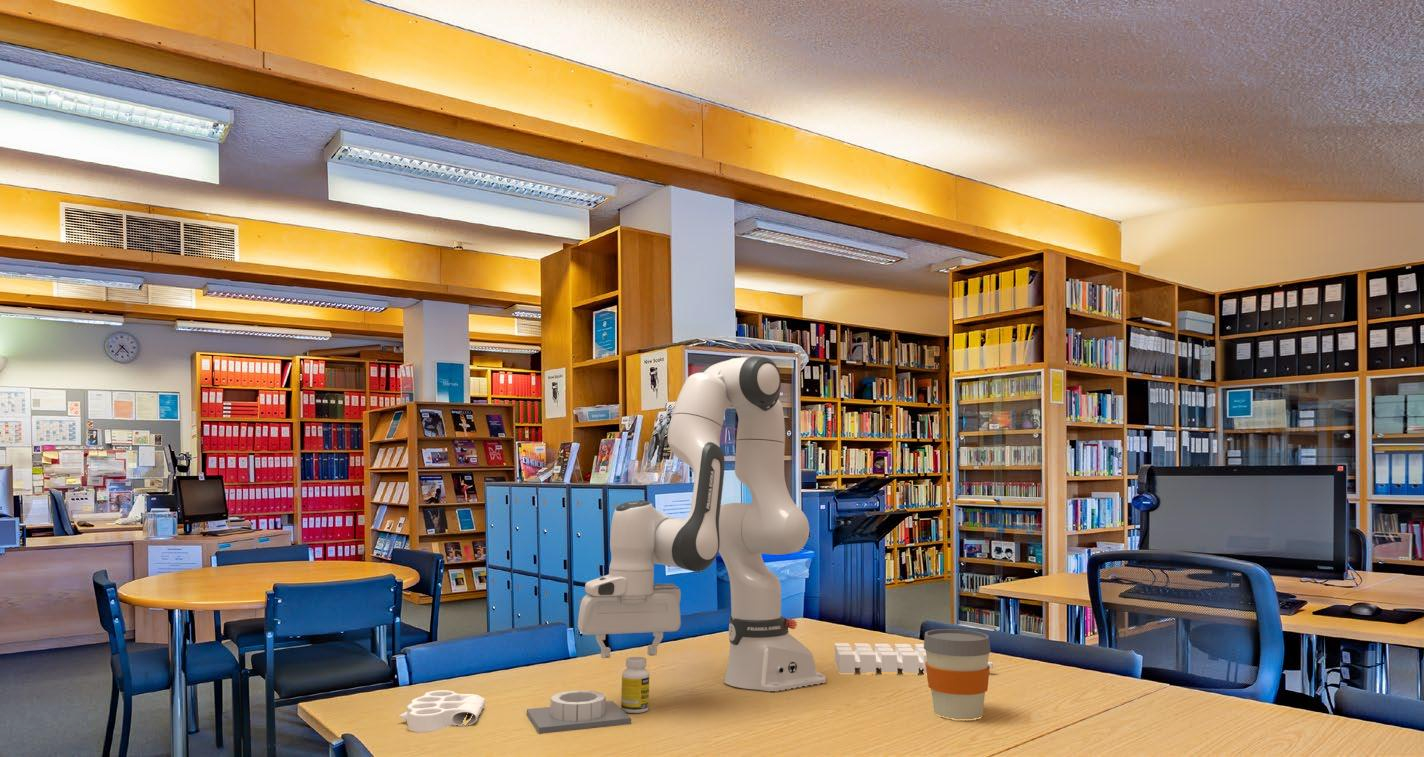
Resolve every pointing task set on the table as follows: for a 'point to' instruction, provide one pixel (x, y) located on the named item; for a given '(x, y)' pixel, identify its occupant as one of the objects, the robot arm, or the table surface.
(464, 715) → the white multi-hole bracket
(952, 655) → the reusable coffee cup
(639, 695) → the supplement bottle
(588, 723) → the mount plate
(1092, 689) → the table surface
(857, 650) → the organizer
